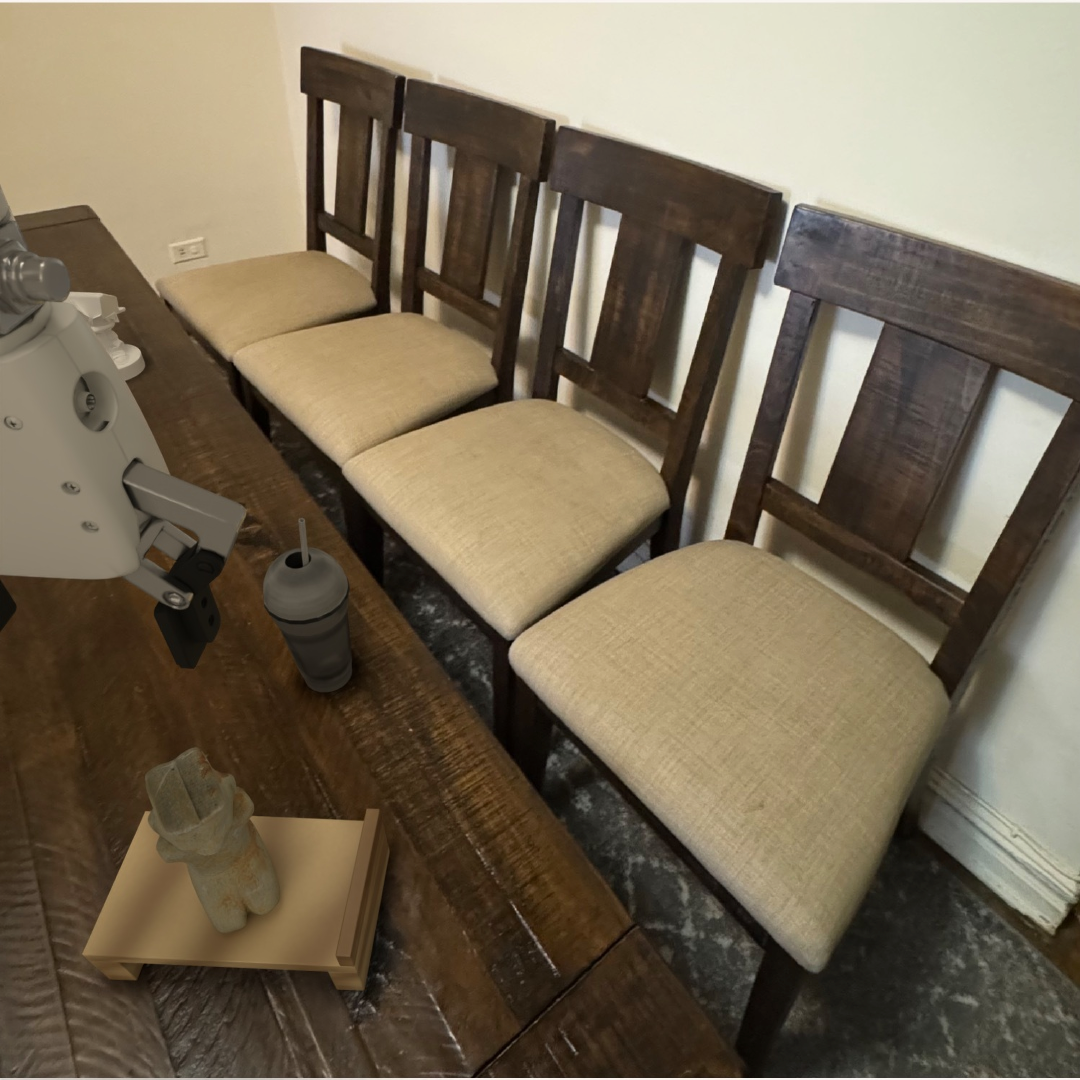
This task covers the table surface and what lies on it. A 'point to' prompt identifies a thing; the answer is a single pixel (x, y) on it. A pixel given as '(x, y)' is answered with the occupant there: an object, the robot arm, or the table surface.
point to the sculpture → (212, 838)
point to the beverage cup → (312, 613)
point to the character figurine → (108, 329)
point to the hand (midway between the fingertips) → (96, 638)
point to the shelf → (267, 940)
